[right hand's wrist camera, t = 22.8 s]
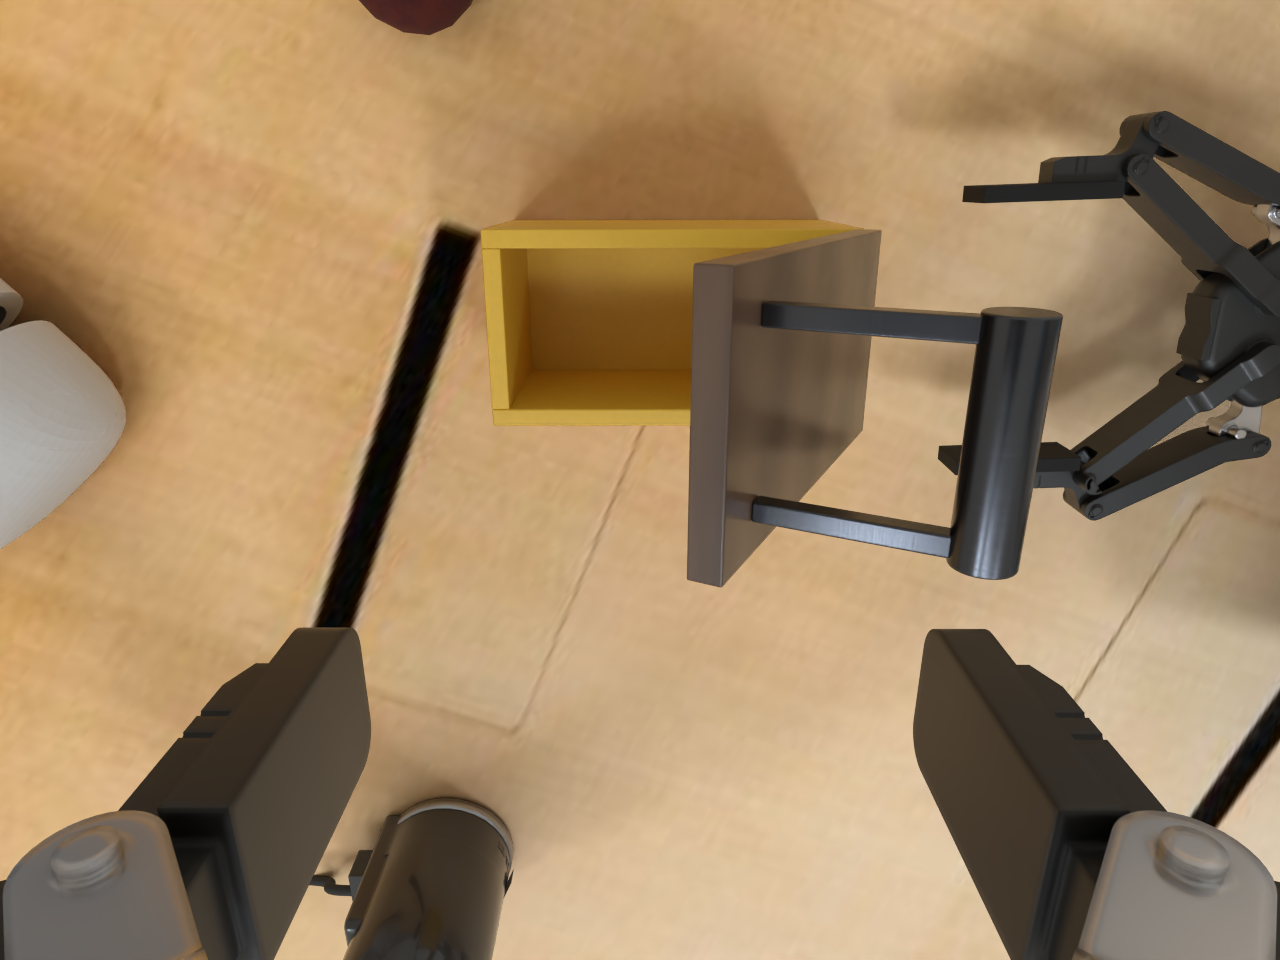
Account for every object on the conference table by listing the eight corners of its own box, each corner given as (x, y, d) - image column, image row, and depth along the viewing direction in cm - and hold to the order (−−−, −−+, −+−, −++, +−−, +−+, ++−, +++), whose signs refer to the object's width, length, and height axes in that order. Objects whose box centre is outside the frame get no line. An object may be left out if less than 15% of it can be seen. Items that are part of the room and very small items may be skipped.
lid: (686, 580, 25) (1004, 652, 21) (692, 263, 21) (1069, 280, 18) (838, 427, 40) (1038, 453, 36) (855, 229, 37) (1076, 234, 33)
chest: (520, 380, 50) (493, 426, 40) (512, 219, 46) (479, 229, 37) (808, 379, 50) (847, 425, 40) (820, 219, 46) (865, 228, 37)
